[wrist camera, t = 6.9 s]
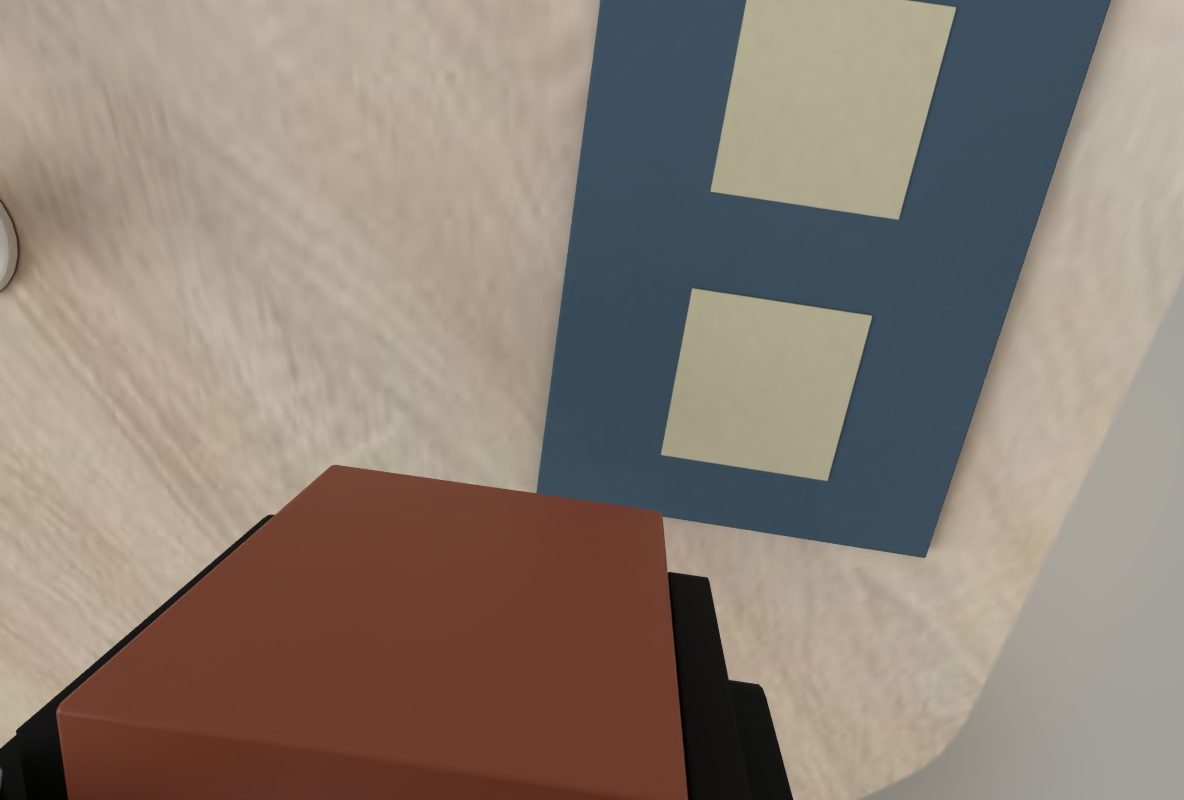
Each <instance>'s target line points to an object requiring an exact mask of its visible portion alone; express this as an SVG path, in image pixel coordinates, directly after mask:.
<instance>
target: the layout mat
mask: <svg viewBox="0 0 1184 800" xmlns="http://www.w3.org/2000/svg"><path fill="white" fill-rule="evenodd" d="M1110 1H1111V0H601V1H600V9H599V16H598V24H597V32H596V40H595V47H594V55H593V63H592V70H591V78H590V86H589V93H588V101H587V109H586V116H585V124H584V132H583V139H582V147H581V155H580V163H579V170H578V178H577V186H576V193H575V201H574V209H573V216H572V224H571V232H570V239H569V247H568V255H567V262H566V270H565V278H564V285H563V293H562V301H561V309H560V316H559V324H558V332H557V339H556V347H555V355H554V362H553V370H552V378H551V385H550V393H549V401H548V408H547V416H546V424H545V431H544V439H543V447H542V455H541V462H540V470H539V478H538V485H537V493H536V494H543V495H550V496H557V497H564V498H571V499H578V500H585V501H592V502H599V503H606V504H613V505H620V506H627V507H634V508H641V509H648V510H655V511H659V512H661V513H662V516H663V517H669V518H676V519H682V520H688V521H695V522H701V523H707V524H714V525H720V526H726V527H733V528H739V529H745V530H752V531H758V532H764V533H771V534H777V535H783V536H789V537H796V538H802V539H808V540H815V541H821V542H827V543H834V544H840V545H846V546H853V547H859V548H865V549H872V550H878V551H884V552H891V553H897V554H903V555H909V556H916V557H922V558H925V557H926V554H927V551H928V548H929V545H930V542H931V539H932V536H933V533H934V530H935V527H936V524H937V521H938V518H939V515H940V512H941V509H942V506H943V503H944V500H945V497H946V494H947V491H948V488H949V485H950V482H951V479H952V476H953V473H954V470H955V467H956V464H957V461H958V458H959V455H960V452H961V449H962V446H963V443H964V440H965V437H966V434H967V431H968V428H969V425H970V422H971V419H972V416H973V413H974V410H975V407H976V404H977V401H978V398H979V395H980V392H981V389H982V386H983V383H984V380H985V377H986V374H987V371H988V368H989V365H990V362H991V359H992V356H993V353H994V350H995V347H996V344H997V341H998V338H999V335H1000V332H1001V329H1002V326H1003V323H1004V320H1005V317H1006V314H1007V311H1008V308H1009V305H1010V302H1011V299H1012V296H1013V292H1014V289H1015V286H1016V283H1017V280H1018V277H1019V274H1020V271H1021V268H1022V265H1023V262H1024V259H1025V256H1026V253H1027V250H1028V247H1029V244H1030V241H1031V238H1032V235H1033V232H1034V229H1035V226H1036V223H1037V220H1038V217H1039V214H1040V211H1041V208H1042V205H1043V202H1044V199H1045V196H1046V193H1047V190H1048V187H1049V184H1050V181H1051V178H1052V175H1053V172H1054V169H1055V166H1056V163H1057V160H1058V157H1059V154H1060V151H1061V148H1062V145H1063V142H1064V139H1065V136H1066V133H1067V130H1068V127H1069V124H1070V121H1071V118H1072V115H1073V112H1074V109H1075V106H1076V103H1077V100H1078V97H1079V94H1080V91H1081V88H1082V85H1083V82H1084V79H1085V76H1086V73H1087V70H1088V67H1089V64H1090V61H1091V58H1092V55H1093V52H1094V49H1095V46H1096V43H1097V40H1098V37H1099V34H1100V31H1101V28H1102V25H1103V22H1104V19H1105V16H1106V13H1107V10H1108V7H1109V4H1110Z"/></svg>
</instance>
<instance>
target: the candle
mask: <svg viewBox="0 0 1184 800" xmlns="http://www.w3.org/2000/svg"><path fill="white" fill-rule="evenodd" d="M17 257H18V251H17V238H16V234H15V231H14V228H13V224H12V221H11V219H10V217H9V216H8V214H7V212H6V210H5V208H4V207H3V205H2V203H1V202H0V290H2V289H3V288H4V287H5V286H6V285H7V284H8V282H9V280H10V279H11V277H12V275H13V273H14V271H15V266H16V262H17Z"/></svg>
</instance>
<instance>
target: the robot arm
mask: <svg viewBox="0 0 1184 800" xmlns="http://www.w3.org/2000/svg"><path fill="white" fill-rule="evenodd" d="M273 516H274V515H268V516H266V517H265V518H263V519H262V520H261V521H260V522H259V523H257V524H256V525H255V526H254V527H253V528H252V529H250V530H249V531H248V532H247V533H246V534H245V535H243V536H242V537H241V538H240V539H239V540H238V541H236V542H235V543H234V544H233V545H232V546H231V547H229V548H228V549H227V550H226V551H225V552H224V553H222V554H221V555H220V556H219V557H218V558H217V559H215V560H214V561H213V562H212V563H211V564H210V565H208V566H207V567H206V568H205V569H204V570H203V571H201V572H200V573H199V574H198V575H197V576H196V577H194V578H193V579H192V580H191V581H190V582H189V583H187V584H186V585H185V586H184V587H183V588H182V589H180V590H179V591H178V592H177V593H176V594H175V595H173V596H172V597H171V598H170V599H169V600H168V601H166V602H165V603H164V604H163V605H162V606H161V607H159V608H158V609H157V610H156V611H155V612H154V613H152V614H151V615H150V616H149V617H148V618H147V619H145V620H144V621H143V622H142V623H141V624H140V625H138V626H137V627H136V628H135V629H134V630H133V631H131V632H130V633H129V634H128V635H127V636H126V637H124V638H123V639H122V640H121V641H120V642H119V643H117V644H116V645H115V646H114V647H113V648H112V649H110V650H109V651H108V652H107V653H106V654H105V655H103V656H102V657H101V658H100V659H99V660H98V661H96V662H95V663H94V664H93V665H92V666H91V667H89V668H88V669H87V670H86V671H85V672H84V673H82V674H81V675H80V676H79V677H78V678H77V679H75V680H74V681H73V682H72V683H71V684H70V685H68V686H67V687H66V688H65V689H64V690H63V691H61V692H60V693H59V694H58V695H57V696H56V697H54V698H53V699H52V700H51V701H50V702H49V703H47V704H46V705H45V706H44V707H43V708H42V709H40V710H39V711H38V712H37V713H36V714H35V715H33V716H32V717H31V718H30V719H29V720H28V721H26V722H25V723H24V724H23V725H22V726H21V727H19V728H18V729H17V730H16V734H17V735H16V736H14V737H13V738H12V739H11V740H10V741H9V742H7V743H6V744H5V745H4V746H3V747H2V748H1V749H0V800H68V795H67V787H66V780H65V773H64V766H63V759H62V752H61V744H60V737H59V730H58V723H57V716H56V711H57V708H58V706H59V705H60V703H61V702H62V701H63V700H64V699H65V698H67V697H68V696H69V695H70V694H71V693H72V692H73V691H75V690H76V689H77V688H78V687H79V686H80V685H81V684H83V683H84V682H85V681H86V680H87V679H88V678H89V677H91V676H92V675H93V674H94V673H95V672H96V671H97V670H99V669H100V668H101V667H102V666H103V665H104V664H105V663H107V662H108V661H109V660H110V659H111V658H112V657H113V656H115V655H116V654H117V653H118V652H119V651H120V650H121V649H123V648H124V647H125V646H126V645H127V644H128V643H129V642H131V641H132V640H133V639H134V638H135V637H136V636H137V635H139V634H140V633H141V632H142V631H143V630H144V629H145V628H147V627H148V626H149V625H150V624H151V623H152V622H153V621H155V620H156V619H157V618H158V617H159V616H160V615H161V614H163V613H164V612H165V611H166V610H167V609H168V608H169V607H171V606H172V605H173V604H174V603H175V602H176V601H177V600H179V599H180V598H181V597H182V596H183V595H184V594H185V593H187V592H188V591H189V590H190V589H191V588H192V587H193V586H195V585H196V584H197V583H198V582H199V581H200V580H201V579H203V578H204V577H205V576H206V575H207V574H208V573H209V572H211V571H212V570H213V569H214V568H215V567H216V566H217V565H219V564H220V563H221V562H222V561H223V560H224V559H225V558H226V557H228V556H229V555H230V554H231V553H232V552H233V551H234V550H236V549H237V548H238V547H239V546H240V545H241V544H242V543H244V542H245V541H246V540H247V539H248V538H249V537H250V536H252V535H253V534H254V533H255V532H256V531H257V530H258V529H260V528H261V527H262V526H263V525H264V524H265V523H266V522H268V521H269V520H270V519H271V518H272V517H273ZM668 583H669V594H670V605H671V616H672V627H673V638H674V649H675V660H676V671H677V682H678V693H679V704H680V715H681V726H682V737H683V748H684V759H685V770H686V781H687V792H688V800H793V797H792V793H791V790H790V786H789V782H788V778H787V775H786V771H785V767H784V763H783V760H782V756H781V752H780V748H779V744H778V741H777V737H776V733H775V729H774V726H773V722H772V718H771V714H770V710H769V707H768V703H767V699H766V696H765V693H764V691H763V688H762V687H761V686H760V685H759V684H752V683H746V682H739V681H732V680H729V679H728V674H727V669H726V664H725V659H724V654H723V649H722V644H721V639H720V634H719V629H718V623H717V618H716V613H715V608H714V603H713V598H712V593H711V588H710V583H709V580H708V578H707V577H700V576H693V575H686V574H680V573H673V572H668Z"/></svg>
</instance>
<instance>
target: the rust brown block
mask: <svg viewBox="0 0 1184 800" xmlns="http://www.w3.org/2000/svg"><path fill="white" fill-rule="evenodd" d="M56 716H57V723H58V730H59V737H60V744H61V752H62V759H63V766H64V773H65V780H66V787H67V795H68V800H688V792H687V781H686V770H685V759H684V748H683V737H682V726H681V715H680V704H679V693H678V682H677V671H676V660H675V649H674V638H673V627H672V616H671V605H670V594H669V583H668V572H667V561H666V550H665V539H664V528H663V517H662V513H661V512H659V511H655V510H648V509H641V508H634V507H627V506H620V505H613V504H606V503H599V502H592V501H585V500H578V499H571V498H564V497H557V496H550V495H543V494H536V493H529V492H522V491H515V490H508V489H501V488H494V487H487V486H480V485H473V484H466V483H459V482H452V481H445V480H438V479H431V478H424V477H417V476H410V475H403V474H396V473H389V472H382V471H375V470H368V469H361V468H354V467H347V466H340V465H332V466H330V467H329V468H328V469H327V470H326V471H325V472H324V473H322V474H321V475H320V476H319V477H318V478H317V479H316V480H314V481H313V482H312V483H311V484H310V485H309V486H308V487H306V488H305V489H304V490H303V491H302V492H301V493H300V494H298V495H297V496H296V497H295V498H294V499H293V500H292V501H290V502H289V503H288V504H287V505H286V506H285V507H284V508H282V509H281V510H280V511H279V512H278V513H277V514H276V515H274V516H273V517H272V518H271V519H270V520H269V521H268V522H266V523H265V524H264V525H263V526H262V527H261V528H260V529H258V530H257V531H256V532H255V533H254V534H253V535H252V536H250V537H249V538H248V539H247V540H246V541H245V542H244V543H242V544H241V545H240V546H239V547H238V548H237V549H236V550H234V551H233V552H232V553H231V554H230V555H229V556H228V557H226V558H225V559H224V560H223V561H222V562H221V563H220V564H219V565H217V566H216V567H215V568H214V569H213V570H212V571H211V572H209V573H208V574H207V575H206V576H205V577H204V578H203V579H201V580H200V581H199V582H198V583H197V584H196V585H195V586H193V587H192V588H191V589H190V590H189V591H188V592H187V593H185V594H184V595H183V596H182V597H181V598H180V599H179V600H177V601H176V602H175V603H174V604H173V605H172V606H171V607H169V608H168V609H167V610H166V611H165V612H164V613H163V614H161V615H160V616H159V617H158V618H157V619H156V620H155V621H153V622H152V623H151V624H150V625H149V626H148V627H147V628H145V629H144V630H143V631H142V632H141V633H140V634H139V635H137V636H136V637H135V638H134V639H133V640H132V641H131V642H129V643H128V644H127V645H126V646H125V647H124V648H123V649H121V650H120V651H119V652H118V653H117V654H116V655H115V656H113V657H112V658H111V659H110V660H109V661H108V662H107V663H105V664H104V665H103V666H102V667H101V668H100V669H99V670H97V671H96V672H95V673H94V674H93V675H92V676H91V677H89V678H88V679H87V680H86V681H85V682H84V683H83V684H81V685H80V686H79V687H78V688H77V689H76V690H75V691H73V692H72V693H71V694H70V695H69V696H68V697H67V698H65V699H64V700H63V701H62V702H61V703H60V705H59V706H58V708H57V711H56Z"/></svg>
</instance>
